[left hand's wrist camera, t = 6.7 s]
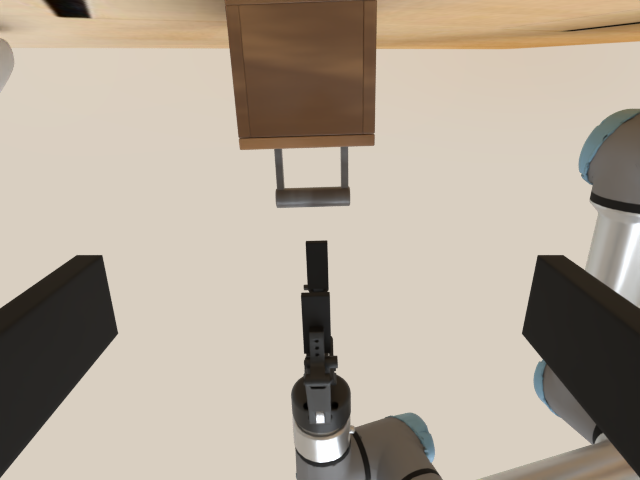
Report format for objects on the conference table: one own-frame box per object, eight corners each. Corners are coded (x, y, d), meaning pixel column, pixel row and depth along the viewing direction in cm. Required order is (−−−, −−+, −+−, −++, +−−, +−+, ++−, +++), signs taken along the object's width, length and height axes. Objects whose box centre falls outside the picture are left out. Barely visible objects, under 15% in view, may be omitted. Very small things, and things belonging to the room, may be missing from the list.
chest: (358, 14, 38) (358, 117, 41) (254, 18, 38) (262, 120, 41) (377, -16, 26) (374, 133, 29) (223, -11, 26) (238, 137, 29)
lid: (357, 117, 42) (357, 198, 45) (263, 120, 42) (270, 201, 46) (374, 134, 29) (372, 246, 32) (238, 138, 29) (249, 250, 32)
